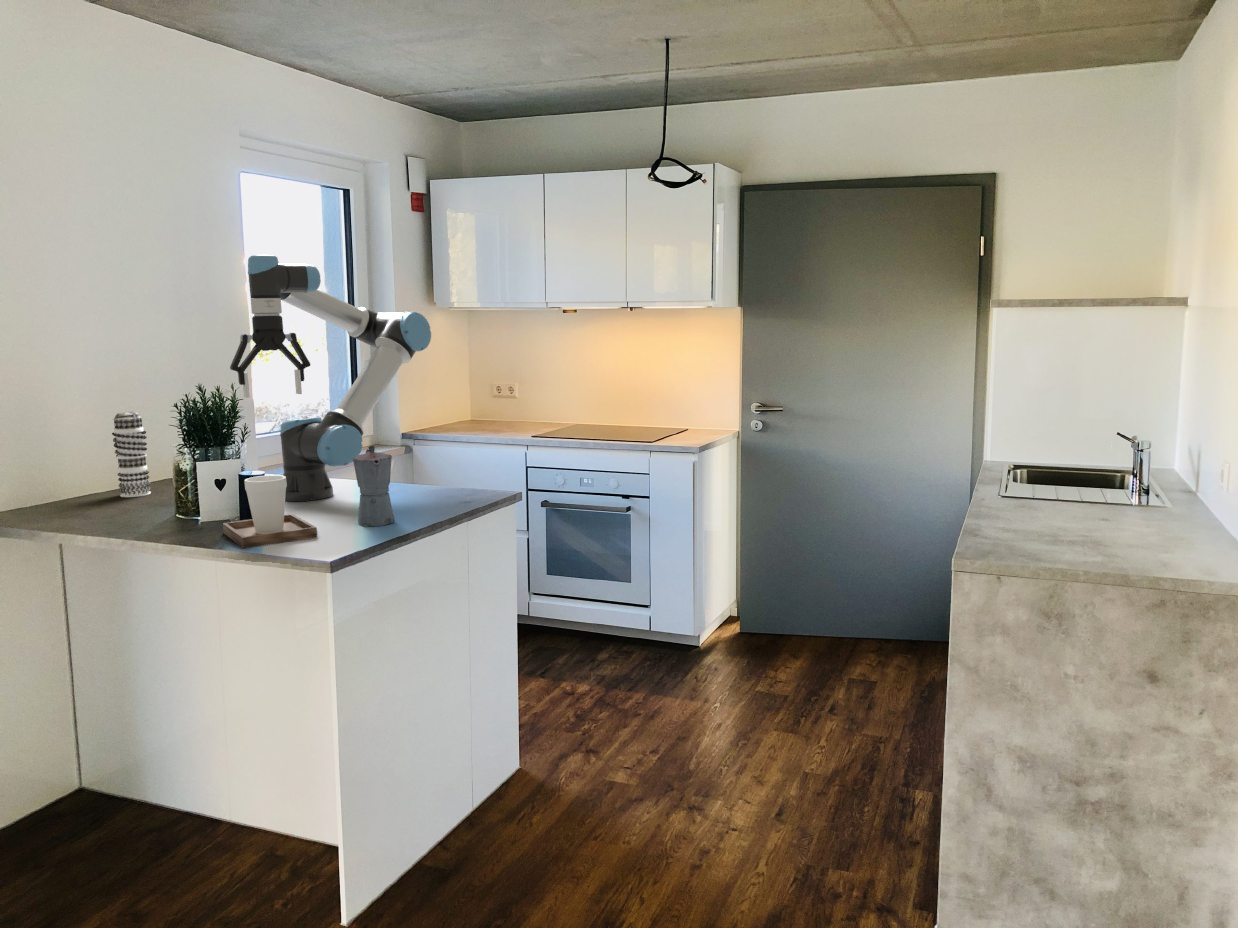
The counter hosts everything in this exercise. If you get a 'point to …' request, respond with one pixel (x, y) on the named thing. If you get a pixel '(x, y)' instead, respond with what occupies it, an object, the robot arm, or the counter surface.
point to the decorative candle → (131, 454)
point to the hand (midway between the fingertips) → (273, 395)
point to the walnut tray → (249, 538)
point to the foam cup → (267, 502)
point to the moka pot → (374, 488)
